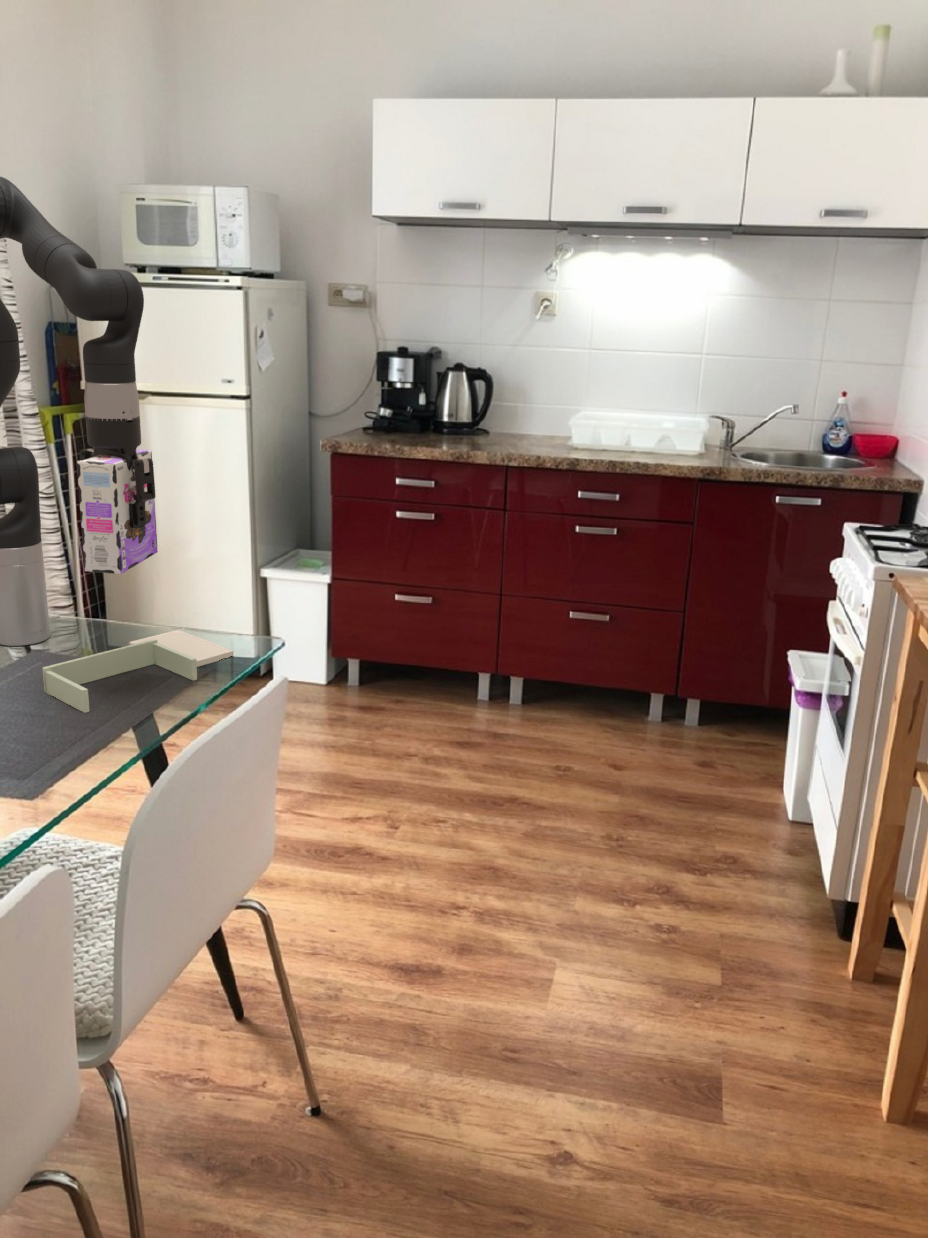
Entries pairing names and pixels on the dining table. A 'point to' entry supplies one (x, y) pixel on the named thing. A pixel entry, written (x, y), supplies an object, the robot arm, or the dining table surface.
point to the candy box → (112, 516)
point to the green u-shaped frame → (111, 669)
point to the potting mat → (190, 646)
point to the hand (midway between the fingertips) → (119, 523)
